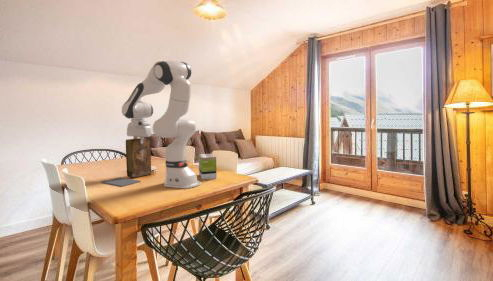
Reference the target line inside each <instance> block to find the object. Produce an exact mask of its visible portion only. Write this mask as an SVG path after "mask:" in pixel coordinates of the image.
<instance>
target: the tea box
mask: <svg viewBox="0 0 493 281" xmlns="http://www.w3.org/2000/svg"><path fill="white" fill-rule="evenodd" d="M198 175H199V177H200V178H201V180H203V181H204V179H205V180H216V179H217V156H216V155H214V154H213V153H200V154H198Z"/></svg>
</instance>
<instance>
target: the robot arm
mask: <svg viewBox="0 0 493 281" xmlns="http://www.w3.org/2000/svg"><path fill="white" fill-rule="evenodd" d="M191 77H192V68H191V66H190V65H189V63H188V62H184V61H174V60H167V61H164V60H162V61H160V60H159V61H156V62H154V63H153V65H152V66H151V68H150V70H149V72H148V74H147V76H146V78H144V80H142V81H141V82H139V83H138V84H137V85H136V86H135V88H134V89H133V90H132V93H131V94H130V95H129V97H128V99H127V100H126V101H125V102H124V103H123V104H122V106H121V114H122V116H124V118H126V119H130V122H129V123H128V124H127V126H126V136H127V137H133V138H132V139H138V138H141V144H142V143H143V140H144V138H150V137H151V136H152V132H153V134H154V135H155V137H157V138H164V139H166V138H174V140H173V142H172V143H169V144H168V145H167V146H166V148H165V157H166V158H165V167H166V168H165V169H166V170H165V176H164V178H165V179H164V183H163V186H164V187H165V188H175V189H191V188H195V187H198V186H200V185H202V182H201V181H200V180H198V176H197V173H196V172H195V171H193V169H191V168H190V167H189V164H190V163H189V161H187V159H186V147H187V144H188V142H189V141H190V139H191V138H192V136H193V135H195V133H196V131H197V125H196V123H195V121H194V120H192V119H188V118H181V117H183V116H185V115H186V114H188V112H189V108H190V100H191V96H192V88H191V87H192V86H191V82H190V80H189V79H190V78H191ZM166 86H170V94H169V100H168V103H167V104H168V105H167V108H166V111H165V112H164V113H163V115H162V116H161V117H159V118H158V119H157V120H155V121H154V122H153V123H152V124H153V125H152V124H151V121H149V120H146V119H148V118H151V117H152V116H153V114H154V108H153V106H152V104H151V103H148V102H146V101H144V99H143V97H145V96H149V95H155V94H159V93H161V92H162V91H163V90H164V89H165V87H166ZM151 125H152V128H151Z"/></svg>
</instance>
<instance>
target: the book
mask: <svg viewBox="0 0 493 281" xmlns="http://www.w3.org/2000/svg"><path fill="white" fill-rule="evenodd" d="M151 152H152V150H151V138H150V137H144V140H143V143H142V144H141V138H140V137H138V138H137V139H134V138H129V139H125V158H126V159H125V162H126V164H125V165H126V177H128V178H132V179H133V178H134V179H135V178H140V177H143V176H148V175H151V174H152V155H151Z"/></svg>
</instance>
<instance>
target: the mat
mask: <svg viewBox="0 0 493 281" xmlns="http://www.w3.org/2000/svg"><path fill="white" fill-rule="evenodd" d="M137 183H141V180H137V179H133V178H126V177H121V176H120V177H119V176H118V177H115V178H111V179H107V180H103V181H100V184H105V185H106V184H107V185H109V186H111V185H112V186H117V187H120V188H123V187H126V186H130V185H133V184H137Z"/></svg>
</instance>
